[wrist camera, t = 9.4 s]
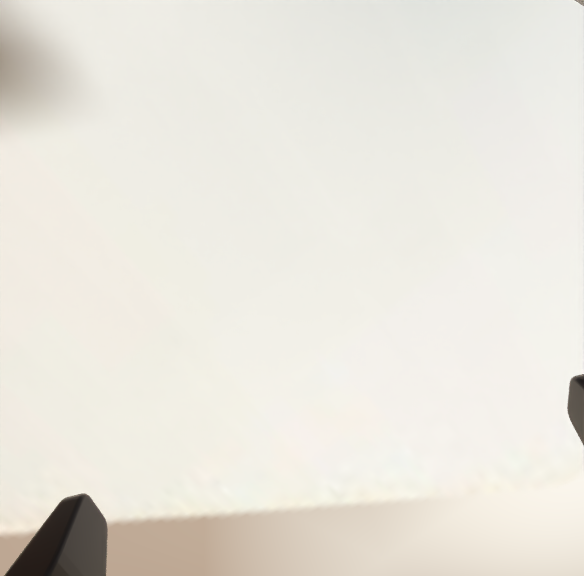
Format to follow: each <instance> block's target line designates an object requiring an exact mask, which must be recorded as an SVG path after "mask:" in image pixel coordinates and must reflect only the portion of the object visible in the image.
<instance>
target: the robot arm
mask: <svg viewBox="0 0 584 576" xmlns="http://www.w3.org/2000/svg"><path fill="white" fill-rule="evenodd" d="M575 1H577V2H578V3H580V4H581V5H583V6H584V0H575ZM568 414H569V418H570V420H571V422H572V424H573V426H574V428H575V430H576V432H577V434H578V436H579V437H580V439H581V441H582V443H583V445H584V374H582V375H578V376H574V377H573V378H572V379H571V380H570V386H569V397H568ZM106 558H107V523H106V520H105V518H104V516H103V515H102V513H101V512H100V510H99V509H98V507H97V506H96V505H95V503H94V502H93V500H92V499H91V498H90V496H89V495H87V494H78V495H74V496H70V497H67V498H64V499H63V500H62V501H61V502H60V503H59V504H58V505H57V507H56V508H55V509H54V511H53V512H52V513H51V515H50V516H49V517H48V519H47V520H46V521H45V523H44V524H43V525H42V527H41V528H40V529H39V530H38V532H37V533H36V534H35V536H34V537H33V538H32V540H31V541H30V542H29V544H28V545H27V546H26V548H25V549H24V550H23V552H22V553H21V554H20V555H19V557H18V558H17V559H16V561H15V562H14V563H13V565H12V566H11V567H10V569H9V570H8V571H7V573H6V574H5V575H4V576H106Z"/></svg>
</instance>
